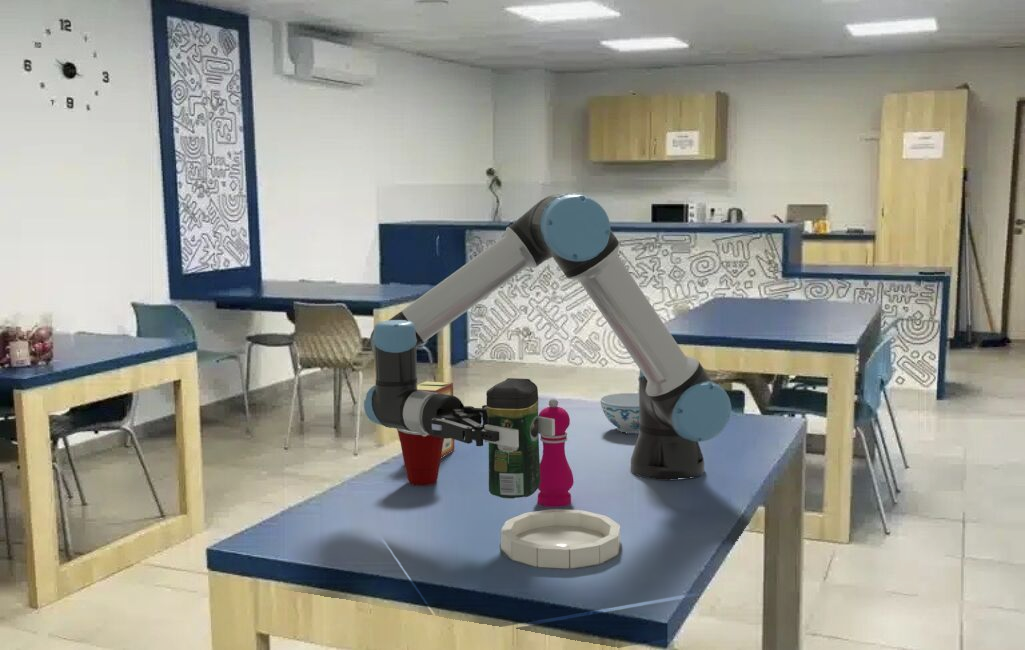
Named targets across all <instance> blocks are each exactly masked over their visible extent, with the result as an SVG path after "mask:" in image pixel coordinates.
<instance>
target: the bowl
mask: <svg viewBox="0 0 1025 650" xmlns="http://www.w3.org/2000/svg"><path fill="white" fill-rule="evenodd" d="M620 542H621V525H620V524H619V523H617V522H616V521H615V520H613V519H612V518H610V517H608V516H606V515H604V514H599V513H595V512H592V511H591V512H590V511H586V510H582V509H561V508H559V509H558V508H551V509H543V510H537V511H536V510H535V511H529V512H524V513H522V514H520V515H515V516H514V517H512V518H509V519H507V520H506V521H505V522H504V524H503V525H502V528H501V530H500V544H501V549H502V550H503V551H504V552H505V553H506V554H507V555H508V556H509V557H510V558H511V559H512V560H515V561H519V562H522V563H525V564H529V565H532V566H536V567H537V566H538V567H548V568H568V569H567V570H570V569H569V567H570V568H577V567H583V566H589V565H596V564H599V563H600V564H601V563H603V562H604V561H606V560H608V559H610V558H612V557H614V556H616V555H618V553H619V547H620ZM618 556H619V555H618ZM512 560H511V561H512ZM603 564H604V563H603ZM601 565H602V564H601ZM536 567H535V568H536Z"/></svg>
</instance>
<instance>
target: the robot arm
mask: <svg viewBox="0 0 1025 650" xmlns="http://www.w3.org/2000/svg"><path fill="white" fill-rule="evenodd" d="M609 219H610V218H609V216H608V213H607V212H606V210H605V209H604V208H603V206H602V205H601V204H600V203H599V202H598V201H596V200H595V199H592V198H591V197H590V196H587V195H585V194H580V193H565V194H562V193H561V194H551V195H548V196H546V197H544V198H542V199H541V200H539V201H538V202H537V203H535V204H534V205H533V206H532V207H531V208H530V209H529V210H527V211H526V212H525V213H524V214H523V215H522V216H520V217H519V218H518V219H517V220H515V221H514V222H512V223H511V224H510V225H509V226H507V227H506V229H505V233H504V236H503V237H501V238H500V239H498V240H497V241H495V242H494V243H493V244H491V245H490V246H488V247H487V248H486V249H485V250H483V251H482V252H480V253H479V254H478V255H476V256H475V257H473V258H472V259H471V260H469V261H468V262H467V263H465V264H464V265H462V266H460V268H458V269H457V270H456V271H454V272H453V273H451V274H450V275H449V276H447V277H446V278H444V279H443V280H442V281H440V282H439V283H438V284H436V285H435V286H434V287H432V288H430V290H428V291H426V292H425V293H424V294H422V295H421V296H420V297H418V298H417V299H416V300H414V301H413V302H411V303H410V304H409V305H407V306H406V307H404V308H403V309H402V310H401V311H400V312H398V313H397V314H396V313H395V315H393V316H392V317H391V318H390V319H388V320H383V321H379V322H377V323H376V324H375V325H374V327H373V330H372V331H371V334H370V337H369V345H370V349H371V352H372V354H373V356H374V368H375V369H374V371H375V384H374V385H373V386H372V387H370V388H369V389H368V391H367V392H366V395H365V399H364V401H363V410H364V412H365V413H364V414H365V415H366V417H367V419H369V421H371V422H372V423H375V424H377V425H380V426H383V427H385V428H389V429H396V430H397V429H402V430H407V431H412V432H418V433H422V436H424V437H426V436H427V435H431V436H435V437H440V438H445V439H449V438H452V439H454V441H459V442H461V443H464V444H467V445H469V444H473V441H474V442H475V446H476V447H483V446H484V443H488V444H489V443H494V444H499V445H504V446H509V447H514V448H517V447H519V436H518V430H515V429H510V428H505V427H499V426H494V425H488V416H487V408H486V406H487V404H483V405H482V406H481V407H474V406H471V405H470V406H469V405H464V404H463V402H462V400H461V399H460V398H459V397H458V396H455V395H453V396H452V395H446V394H439V393H435V392H429V391H422V390H417V385H418V374H417V370H418V369H417V359H418V358H417V349H418V347H420V346H421V345H422V344H424V343H426V341H428V340H429V339H430V338H432V337H433V336H434V335H436V334H437V333H439V332H441V330H443V329H444V328H446V327H447V326H448V325H449V324H451V323H452V322H454V321H455V320H456V319H458V318H459V317H461V316H462V315H463V314H465V313H467V312H468V311H469V310H471V309H472V308H473V307H475V306H476V305H477V304H479V303H480V302H481V301H483V300H484V299H486V298H487V297H488V296H490V295H491V294H493V292H495V291H497V290H498V289H499V288H501V287H502V286H503V285H505V284H507V283H508V282H509V281H510V280H513V278H515V277H516V276H517V275H519V274H520V273H522V272H523V271H524V270H525V269H528V268H533V269H535V268H537V267H539V266H540V265H541V264H543V263H544V262H546V261H548V260H550V259H552V258H553V260H554V261H555V263H556V264H557V266H558V267H559V269H560V270H561V271H562V273H563V274H564V276H565V277H566V278H567V280H573V281H578V282H579V283H580V285H581V286H582V287H583V289H584V290H585V292H586V293H587V295H588V296H589V298H590V299H591V301H592V302H593V303H594V305H595V306H596V308H597V309H598V311H599V312H600V313H601V316H602V317H603V318H604V320H605V321H606V322H607V324H608V325H609V327H610V328H611V330H612V331H613V332H614V334H615V336H616V337H617V338H618V340H619V342H620V343H621V344H622V345H623V347H624V348H625V350H626V351H627V353H628V354H629V356H630V357H631V359H632V360H633V361H634V363H635V365H636V366H637V367H638V369H639V375H638V379H637V380H638V393H639V433H638V436H637V439H636V442H635V445H634V449H633V451H632V454H631V457H630V471H631V472H632V473H633V474H635V475H637V476H639V477H643V478H646V479H652V480H661V481H671V480H670V479H678V478H690V477H694V478H697V477H696V476H698V475H700V474H702V473H703V472H704V473H705V459H704V456H703V453H702V449H701V446H700V444H699V442H700V443H701V442H706V441H709V440H713V439H714V438H717V436H719V435H720V434H721V433H722V432H723V431H724V430H725V428H726V427H727V425H728V423H729V421H730V417H731V414H732V403H731V399H730V396H729V395H728V394H727V392H726V390H725V389H724V388H723V387H722V386H721V385H719V384H718V383H716V382H713V380H712V379H711V377H710V376H709V374H708V373H707V372H706V370H705V368H704V367H703V366H702V364H701V363H700V361H699V359H698V358H697V357H694V356H688V355H685V354H684V352H683V350H682V349H681V347H680V345H679V344H678V343H677V341H676V340H675V338H674V337H673V335H672V334H671V333H670V330H668V328H667V326H666V325H665V323H664V322H663V320H662V319H661V317H660V316H659V314H658V313H657V312H656V310H655V309H654V307H653V305H652V304H651V303H650V301H649V300H648V298H647V297H646V295H645V294H644V292H643V290H642V289H641V287H640V286H639V285H638V283H637V281H636V280H635V279H634V277H633V275H632V274H631V273H630V271H629V270H628V268H627V267H626V266H625V264H624V262H623V260H622V259H621V258H620V256H619V250H620V242H619V240H618V238H617V236H616V235H615V233H614V232H613V231H612V229H611V222H610V220H609ZM538 434H539V435H540V434H544V435H549V436H554V435H555V419H552V418H546V417H540V416H538ZM704 473H703V474H704ZM703 474H702V475H703ZM700 476H701V475H700ZM698 477H699V476H698ZM690 479H691V478H690Z"/></svg>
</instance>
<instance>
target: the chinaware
mask: <svg viewBox="0 0 1025 650" xmlns="http://www.w3.org/2000/svg"><path fill="white" fill-rule="evenodd" d="M599 401H600V402H599V403H600V405H601V406H600V407H601V408H602V409H601V410H602V412H603V414H604V416H605V417H606V419H607V420H608V421H609V422H610V423H611V424H612V425H613V426H615V427H616V428H617V429H618V430H619V431H621V432H620V433H622V432H627V433H626V434H629V433H635V434H639V392H636V393H635V392H627V393H626V392H621V393H613V394H607V395H603V396H601V397H600V399H599ZM618 430H617V431H618ZM619 431H618V432H619Z"/></svg>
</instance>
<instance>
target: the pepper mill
mask: <svg viewBox="0 0 1025 650" xmlns="http://www.w3.org/2000/svg"><path fill="white" fill-rule="evenodd" d="M538 416H540V417H546V418H552V419H555V435H554V436H549V435H544V434H539V435H540V440H539V441H541V442H542V457H541V460H540V486H539V487H538V489H537V490H538V491H539V492H538V494H537V503H538V504H539V505H540V506H543V507H550V508H553V507H554V508H558V507H564V506H565V507H566V506H568V505H570V504H571V503H572V494H571V493H570V492H569V491H570V490H571V489H572V487H573V486H574V483H575V482H574V475H573V471H572V469H571V466H570V464H569V462H568V460H567V457H566V448H565V445H566V442H567V441H568V437H567V436H568V433H567V432H566V430H567V429H568V428H569V427H570V425H571V420H570V415H569V413H568V411H566V409H564V408H563V407H559V402H558V400H557V398H551V399H549V400H548V406H547V407H545V408H543V409H542V410H541V411H539V412H538Z"/></svg>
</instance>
